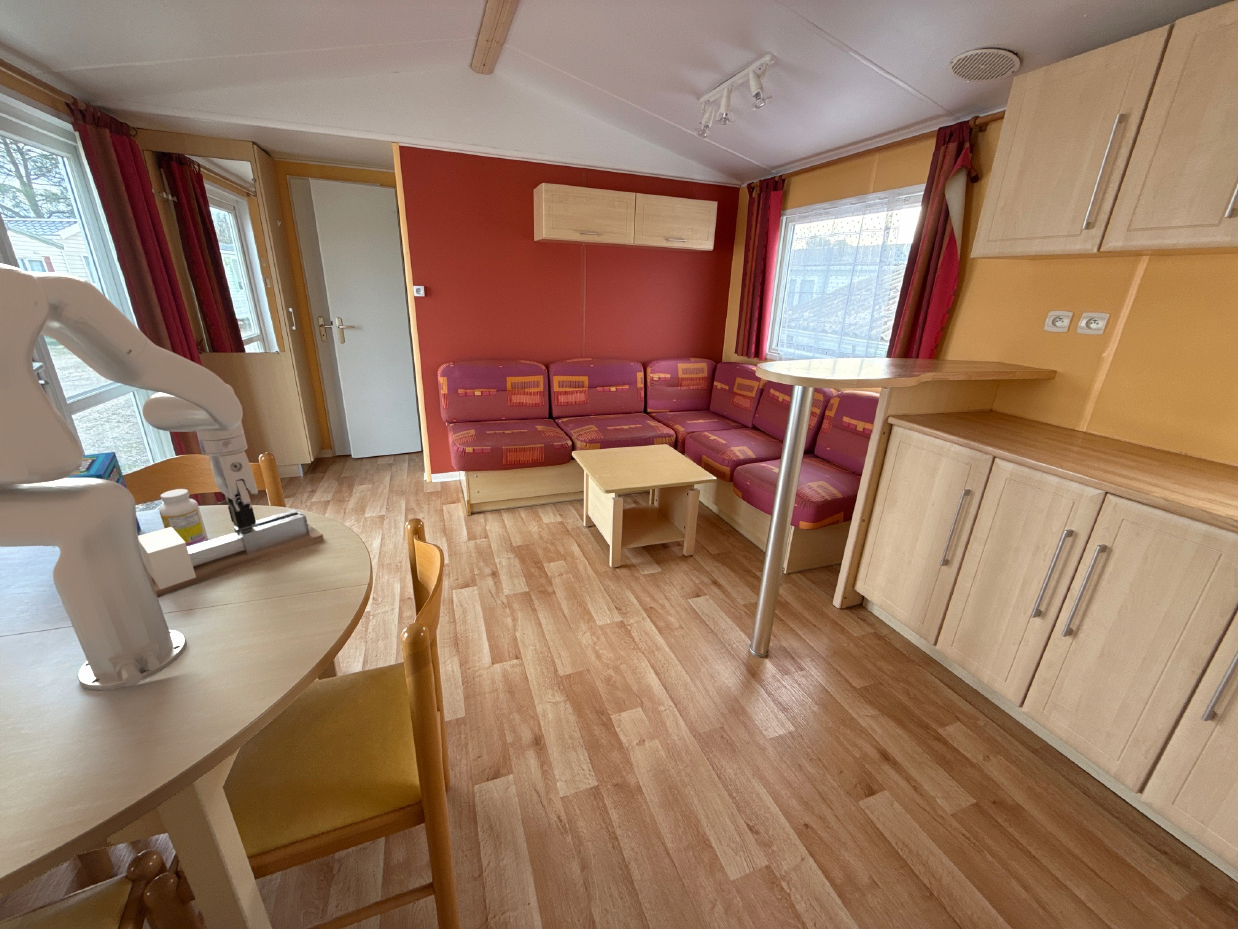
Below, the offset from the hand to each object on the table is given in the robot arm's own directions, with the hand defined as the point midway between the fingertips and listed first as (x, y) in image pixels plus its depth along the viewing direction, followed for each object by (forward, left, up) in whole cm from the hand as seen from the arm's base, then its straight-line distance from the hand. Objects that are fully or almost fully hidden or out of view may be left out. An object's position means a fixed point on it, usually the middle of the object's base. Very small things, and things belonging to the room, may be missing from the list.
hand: (244, 522), depth 107 cm
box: (+26, +19, -8) cm, 33 cm away
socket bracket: (0, +14, -7) cm, 15 cm away
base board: (0, +2, -8) cm, 8 cm away
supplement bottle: (+16, +7, -8) cm, 19 cm away
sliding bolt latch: (0, +6, -6) cm, 8 cm away
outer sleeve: (0, -5, -7) cm, 8 cm away
